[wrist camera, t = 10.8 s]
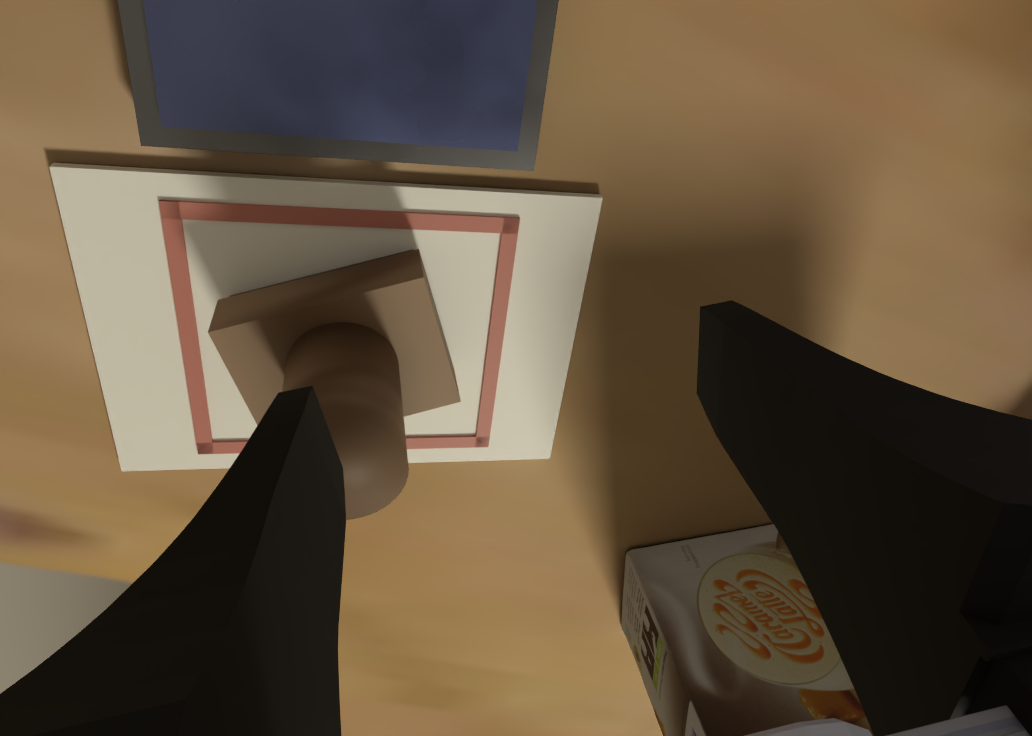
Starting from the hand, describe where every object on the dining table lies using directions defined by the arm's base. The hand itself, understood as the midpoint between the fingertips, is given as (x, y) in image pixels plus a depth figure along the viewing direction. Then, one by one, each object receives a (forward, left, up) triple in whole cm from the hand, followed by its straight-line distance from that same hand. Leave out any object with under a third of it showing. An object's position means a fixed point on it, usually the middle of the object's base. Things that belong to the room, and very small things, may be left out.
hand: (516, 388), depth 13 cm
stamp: (+3, +5, -10) cm, 11 cm away
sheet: (+3, +5, -10) cm, 11 cm away
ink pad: (+3, -4, -10) cm, 11 cm away
